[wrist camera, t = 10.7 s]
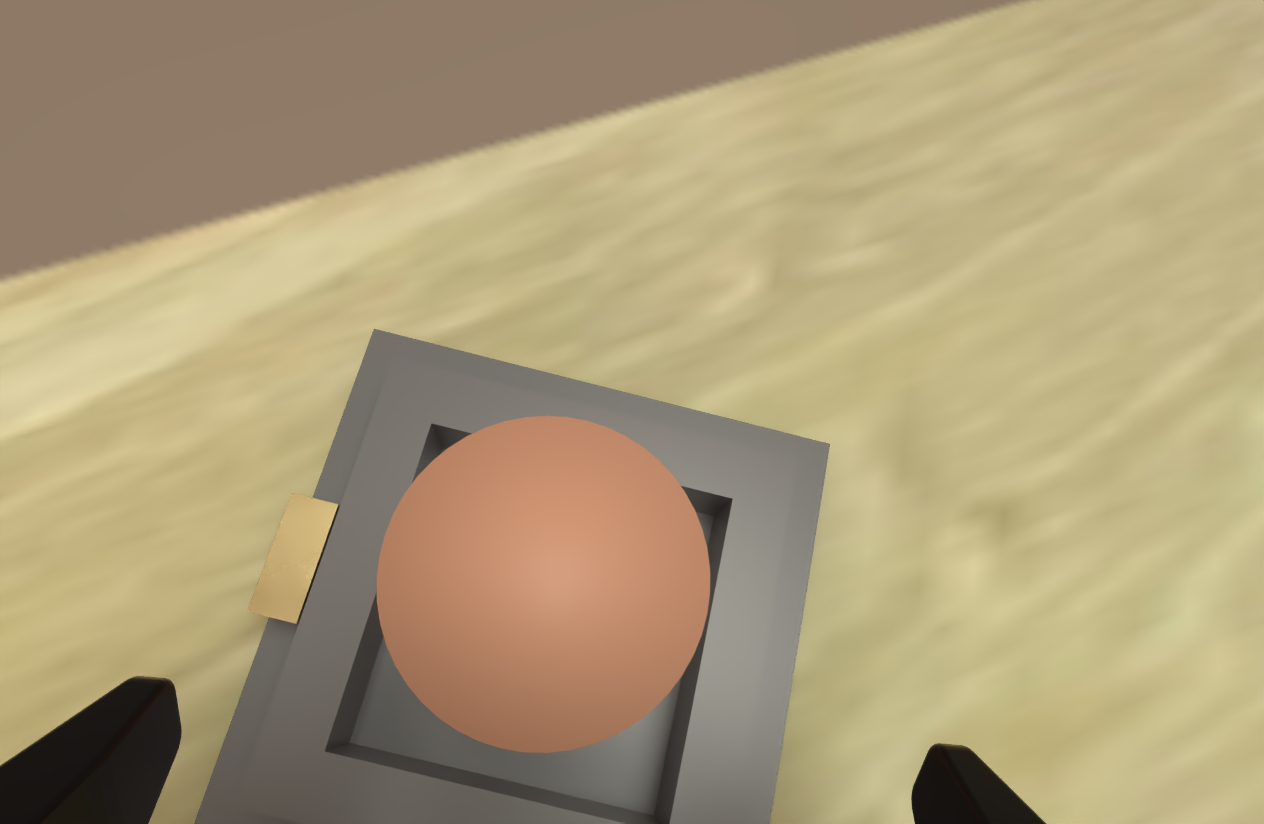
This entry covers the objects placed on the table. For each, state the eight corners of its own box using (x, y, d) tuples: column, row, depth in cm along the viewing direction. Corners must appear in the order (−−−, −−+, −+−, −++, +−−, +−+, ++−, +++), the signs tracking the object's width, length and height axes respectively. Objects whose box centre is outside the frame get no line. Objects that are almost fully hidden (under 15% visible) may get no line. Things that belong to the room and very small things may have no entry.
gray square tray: (819, 452, 26) (860, 420, 22) (736, 961, 21) (771, 1015, 18) (380, 341, 25) (355, 291, 22) (203, 835, 21) (138, 866, 18)
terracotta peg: (643, 564, 23) (737, 458, 12) (605, 728, 22) (672, 790, 10) (489, 526, 23) (434, 382, 12) (443, 688, 22) (327, 705, 10)
